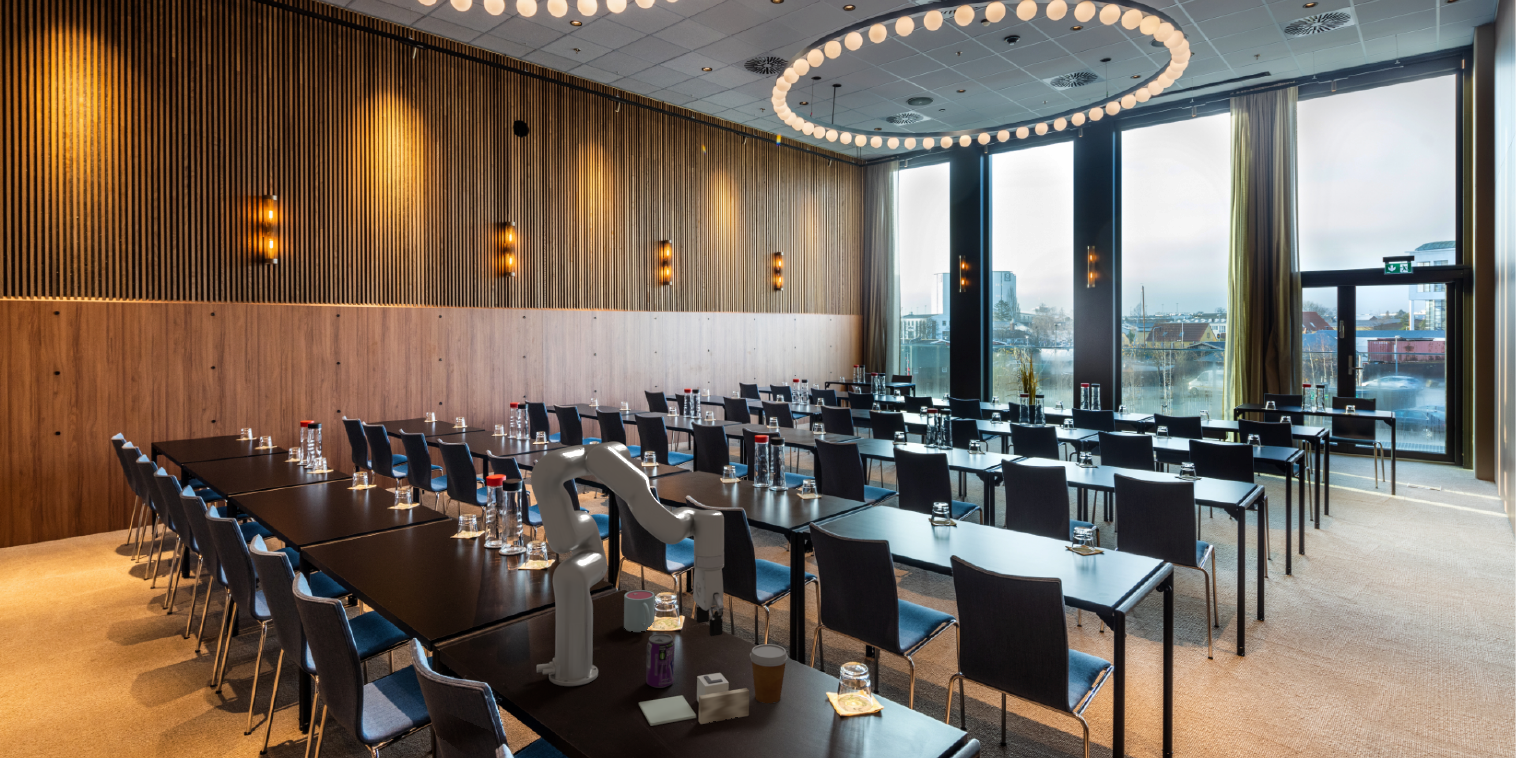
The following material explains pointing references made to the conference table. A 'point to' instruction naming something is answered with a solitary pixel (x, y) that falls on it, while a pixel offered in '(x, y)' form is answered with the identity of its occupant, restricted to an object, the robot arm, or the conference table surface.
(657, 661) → the beverage can
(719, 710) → the birch screen
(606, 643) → the conference table surface
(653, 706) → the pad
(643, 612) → the mug
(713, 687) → the letter block
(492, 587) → the conference table surface
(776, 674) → the disposable coffee cup
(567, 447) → the robot arm
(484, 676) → the conference table surface
